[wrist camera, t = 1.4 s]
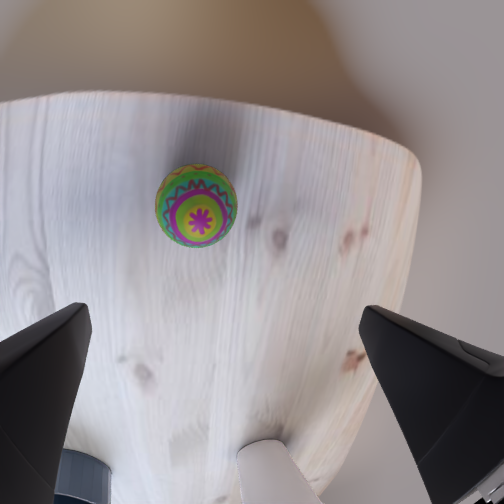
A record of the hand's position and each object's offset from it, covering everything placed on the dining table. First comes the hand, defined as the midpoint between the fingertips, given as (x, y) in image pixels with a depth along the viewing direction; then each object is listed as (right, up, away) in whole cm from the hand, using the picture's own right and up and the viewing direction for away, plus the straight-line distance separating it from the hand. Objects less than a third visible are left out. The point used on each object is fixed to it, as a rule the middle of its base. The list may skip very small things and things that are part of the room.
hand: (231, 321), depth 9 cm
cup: (-23, -27, +18) cm, 39 cm away
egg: (-3, +6, +11) cm, 13 cm away
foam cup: (+2, -24, +24) cm, 33 cm away
